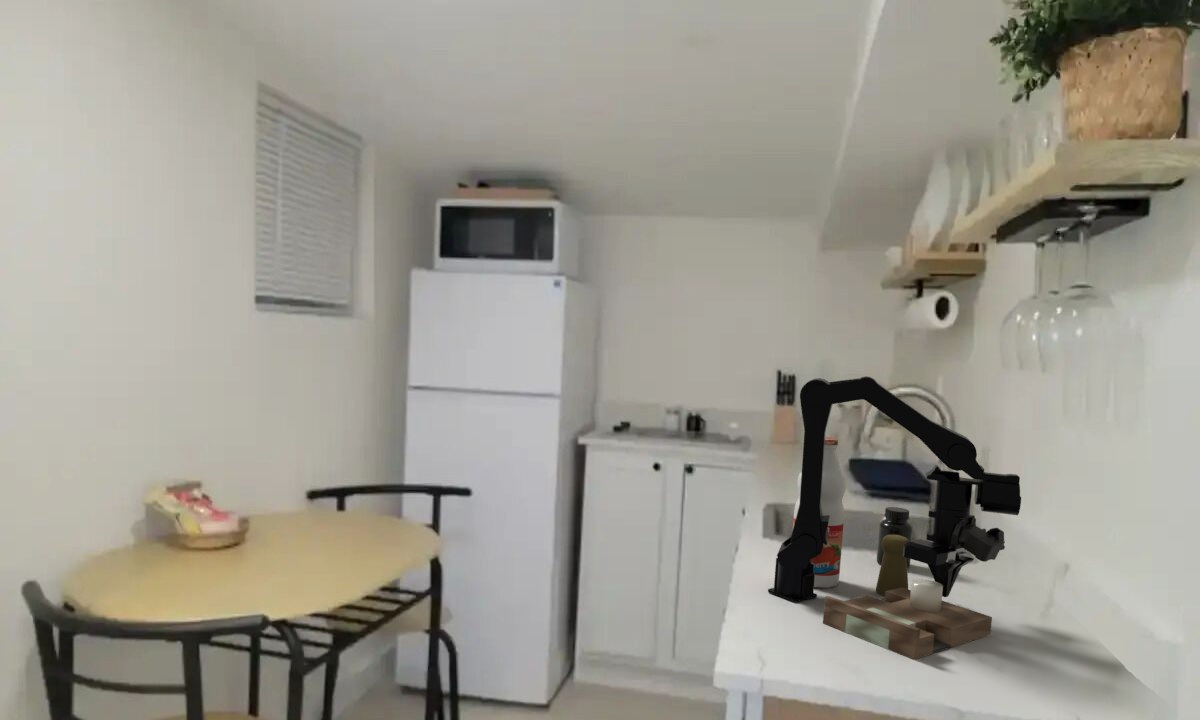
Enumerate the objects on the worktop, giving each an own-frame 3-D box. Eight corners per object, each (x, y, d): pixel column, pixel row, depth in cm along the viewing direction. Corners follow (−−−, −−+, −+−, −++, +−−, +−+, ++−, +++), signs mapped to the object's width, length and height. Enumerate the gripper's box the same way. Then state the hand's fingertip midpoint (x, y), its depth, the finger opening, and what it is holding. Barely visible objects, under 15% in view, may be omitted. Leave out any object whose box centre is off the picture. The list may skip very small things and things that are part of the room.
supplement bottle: (872, 559, 186) (876, 504, 186) (904, 561, 186) (908, 506, 186) (881, 568, 180) (885, 511, 179) (914, 570, 179) (919, 514, 179)
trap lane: (822, 623, 143) (824, 596, 143) (900, 603, 157) (902, 579, 156) (913, 659, 130) (916, 630, 129) (990, 634, 143) (992, 608, 143)
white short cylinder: (903, 604, 146) (905, 581, 146) (920, 600, 149) (922, 577, 149) (930, 613, 142) (932, 589, 142) (946, 609, 146) (948, 585, 145)
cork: (911, 600, 159) (916, 541, 158) (877, 596, 160) (881, 537, 160) (906, 590, 165) (911, 534, 164) (873, 586, 166) (878, 530, 166)
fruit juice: (835, 576, 171) (846, 436, 170) (841, 591, 162) (853, 443, 161) (787, 571, 173) (797, 432, 171) (790, 585, 163) (802, 439, 162)
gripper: (967, 523, 137) (958, 619, 137) (1025, 513, 148) (1017, 602, 149) (905, 507, 146) (897, 598, 146) (964, 499, 157) (956, 584, 158)
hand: (944, 596), depth 150 cm, fingers closed
